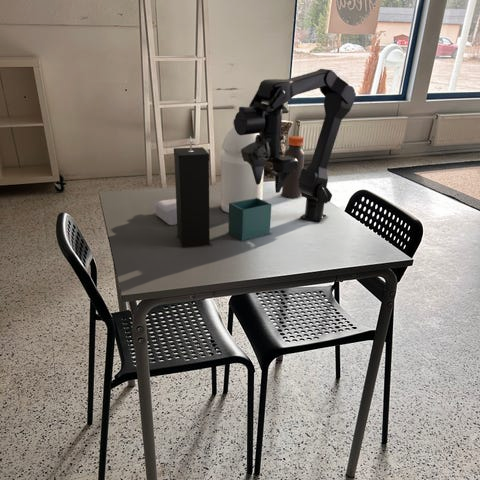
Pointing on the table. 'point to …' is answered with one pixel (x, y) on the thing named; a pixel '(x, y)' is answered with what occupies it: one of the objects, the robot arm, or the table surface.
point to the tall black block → (192, 195)
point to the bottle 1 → (237, 171)
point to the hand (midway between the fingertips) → (267, 188)
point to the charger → (167, 211)
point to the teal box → (249, 218)
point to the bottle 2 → (291, 183)
